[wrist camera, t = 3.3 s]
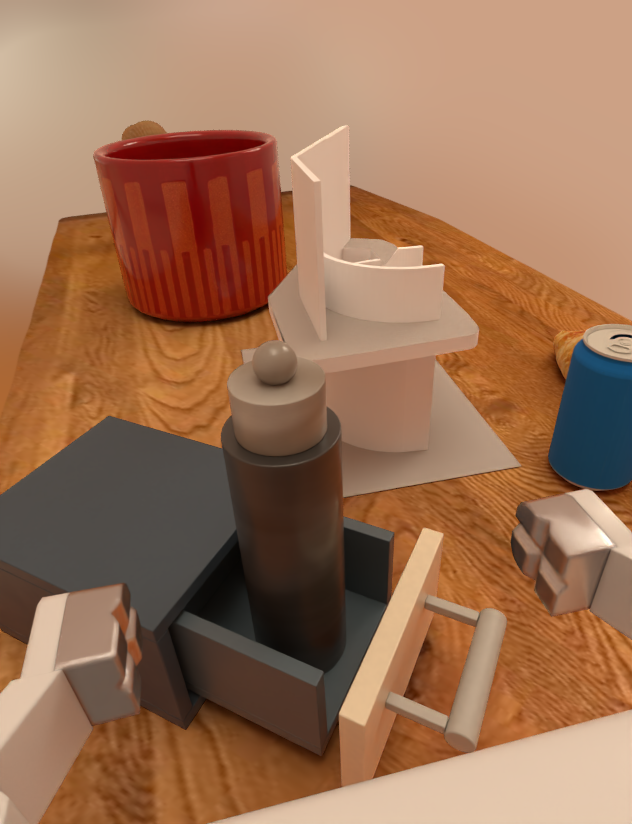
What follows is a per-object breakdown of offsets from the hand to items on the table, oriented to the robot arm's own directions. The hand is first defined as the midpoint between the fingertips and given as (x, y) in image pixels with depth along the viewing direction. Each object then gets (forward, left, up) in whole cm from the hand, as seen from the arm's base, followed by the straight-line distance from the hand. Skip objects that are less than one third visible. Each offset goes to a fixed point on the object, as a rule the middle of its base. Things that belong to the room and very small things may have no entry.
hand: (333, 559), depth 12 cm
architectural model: (+38, +15, -22) cm, 46 cm away
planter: (+56, +46, -22) cm, 76 cm away
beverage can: (+35, -7, -22) cm, 42 cm away
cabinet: (+10, +18, -22) cm, 30 cm away
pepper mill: (+10, +7, -20) cm, 23 cm away
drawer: (+10, +6, -21) cm, 24 cm away
